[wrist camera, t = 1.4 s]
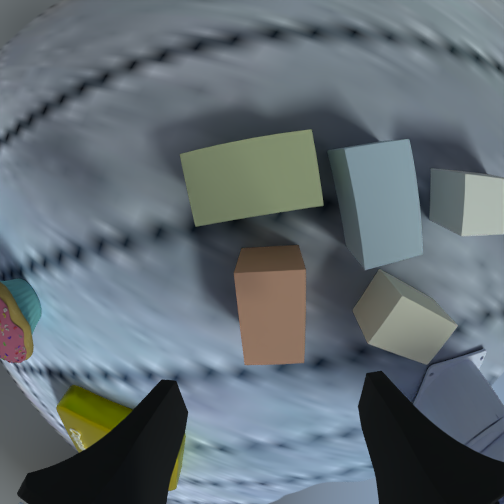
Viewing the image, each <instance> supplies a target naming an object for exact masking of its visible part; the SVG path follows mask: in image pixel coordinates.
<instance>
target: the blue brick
mask: <svg viewBox="0 0 504 504" xmlns="http://www.w3.org/2000/svg"><path fill="white" fill-rule="evenodd" d="M327 153H328V157H329V161H330V166H331V170H332V175H333V179H334V184H335V188H336V193H337V198H338V203H339V209H340V214H341V219H342V225H343V231H344V237H345V243H346V247H347V248H348V249H349V250H350V252H351V253H352V254H353V256H354V257H355V258H356V259H357V261H358V262H359V263H360V264H361V266H362V267H363V268H364V270H368V269H372V268H375V267H379V266H383V265H387V264H390V263H394V262H398V261H401V260H405V259H408V258H412V257H415V256H419V255H422V254H423V242H422V226H421V213H420V203H419V195H418V187H417V180H416V173H415V167H414V161H413V155H412V150H411V145H410V140H409V139H403V140H391V141H380V142H373V143H367V144H361V145H355V146H349V147H343V148H338V149H333V150H327Z"/></svg>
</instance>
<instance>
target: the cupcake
mask: <svg viewBox="0 0 504 504" xmlns="http://www.w3.org/2000/svg"><path fill="white" fill-rule="evenodd" d="M40 317H41V305H40V302H39V299H38V297H37V295H36V293H35V292H34V290H33V289H32V287H31V286H30V285H29V284H28V283H27V282H26V281H24V280H23V279H19V278H17V279H13V280H7V281H0V358H1V359H3V360H6V361H8V362H9V363H10V362H11V363H21V362H22V361H24V360H27V359H28V358H30V357H31V355H32V353H33V339H32V334H33V331H34V329H35V327H36V325H37V323H38V321H39V319H40Z"/></svg>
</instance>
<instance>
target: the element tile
mask: <svg viewBox="0 0 504 504" xmlns="http://www.w3.org/2000/svg"><path fill="white" fill-rule="evenodd" d="M56 409H57V412H58V414H59V416H60V418H61V420H62V422H63V424H64V426H65V428H66V430H67V432H68V434H69V436H70V438H71V440H72V441H73V443H74V445H75V447H76V449H77V450H78V452H79V453H80V452H81V451H83V450H85V449H86V448H88V447H90V446H91V445H93V444H94V443H96V442H97V441H98V440H100V439H101V438H102V437H104V436H105V435H106V434H107V433H109V432H110V431H111V430H112V429H113V428H114V427H116V426H117V425H118V424H119V423H120V422H121V421H122V420H123V419H124V418H125V417H126V416H128V415H129V414H130V413H131V411H132V409H130V408H127V407H125V406H122V405H120V404H117V403H115V402H112V401H110V400H108V399H105V398H103V397H101V396H99V395H96V394H94V393H92V392H90V391H88V390H86V389H84V388H82V387H79V386H76V385H72V386H70V388H69V389H68V391H67V392H66V393H65V395H64V396H63V398H62V399H61V400H60V402H59V403H58V405H57V408H56ZM185 438H186V435H185V434H184V437H183V441H182V444H181V447H180V451H179V454H178V457H177V460H176V463H175V466H174V469H173V473H172V476H171V480H170V484H169V489H168V491H171V490H175V489H176V488H177V484H178V480H179V476H180V472H181V468H182V461H183V453H184V446H185Z"/></svg>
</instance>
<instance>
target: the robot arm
mask: <svg viewBox="0 0 504 504" xmlns="http://www.w3.org/2000/svg"><path fill="white" fill-rule="evenodd" d="M486 352H487V351H486V350H485V349H482V350H479V351H476V352H473V353H470V354H467V355H464V356H461V357H457V358H454V359H451V360H447V361H444V362H440V363H437V364H433V365H431V366H430V367H429V368H428V370H427V372H426V375H425V377H424V380H423V382H422V385H421V387H420V389H419V392H418V394H417V396H416V398H415V401H414V403H413V404H412V403H411V402H410V401H409V400H408V399H407V398H406V397H405V396H404V395H403V394H402V392H401V391H400V390H399V389H398V388H397V387H396V386H395V385H394V384H393V383H392V382H391V381H390V379H389V378H388V377H387V376H386V375H385V374H384V373H383V372H382V371H377V372H371V373H367V374H366V378H365V382H364V386H363V390H362V394H361V397H360V401H359V404H358V409H359V415H360V421H361V427H362V431H363V434H364V438H365V441H366V444H367V448H368V451H369V454H370V458H371V461H372V465H373V468H374V472H375V477H376V482H377V490H378V498H379V504H504V405H503V404H502V402H501V401H500V399H499V398H498V396H497V395H496V393H495V392H494V390H493V389H492V387H491V386H490V384H489V383H488V382H487V380H486V379H485V377H484V376H483V375H482V373H481V372H480V370H479V368H480V366H481V364H482V362H483V360H484V357H485V355H486ZM187 417H188V411H187V408H186V406H185V403H184V400H183V398H182V395H181V393H180V390H179V387H178V385H177V382H176V381H173V380H161V381H160V382H159V383H158V384H157V385H156V386H155V387H154V388H153V389H152V390H151V392H150V393H149V394H148V395H147V396H146V397H145V398H144V399H143V400H142V401H141V402H140V403H139V404H138V405H137V406H136V407H135V408H134V409H133V410H132V411H131V413H130V414H129V415H128V416H126V417H125V418H124V419H123V420H122V421H121V422H120V423H119V424H118V425H117V426H116V427H114V428H113V429H112V430H111V431H110V432H109V433H107V434H106V435H105V436H104V437H102V438H101V439H100V440H98V441H97V442H96V443H94V444H93V445H91V446H90V447H88V448H86V449H85V450H83V451H81V452H80V453H78V454H76V455H74V456H73V457H71V458H69V459H67V460H65V461H62V462H60V463H58V464H56V465H53V466H50V467H48V468H45V469H41V470H38V471H35V472H31V473H28V474H27V476H26V477H25V479H24V481H23V483H22V485H21V487H20V489H19V491H18V492H17V494H18V496H19V497H20V498H21V499H23V500H24V501H25V502H27V503H28V504H166V502H167V495H168V489H169V484H170V480H171V476H172V473H173V469H174V466H175V463H176V460H177V457H178V454H179V451H180V447H181V444H182V441H183V437H184V434H185V429H186V423H187ZM19 504H23V503H22V502H20V503H19Z"/></svg>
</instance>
